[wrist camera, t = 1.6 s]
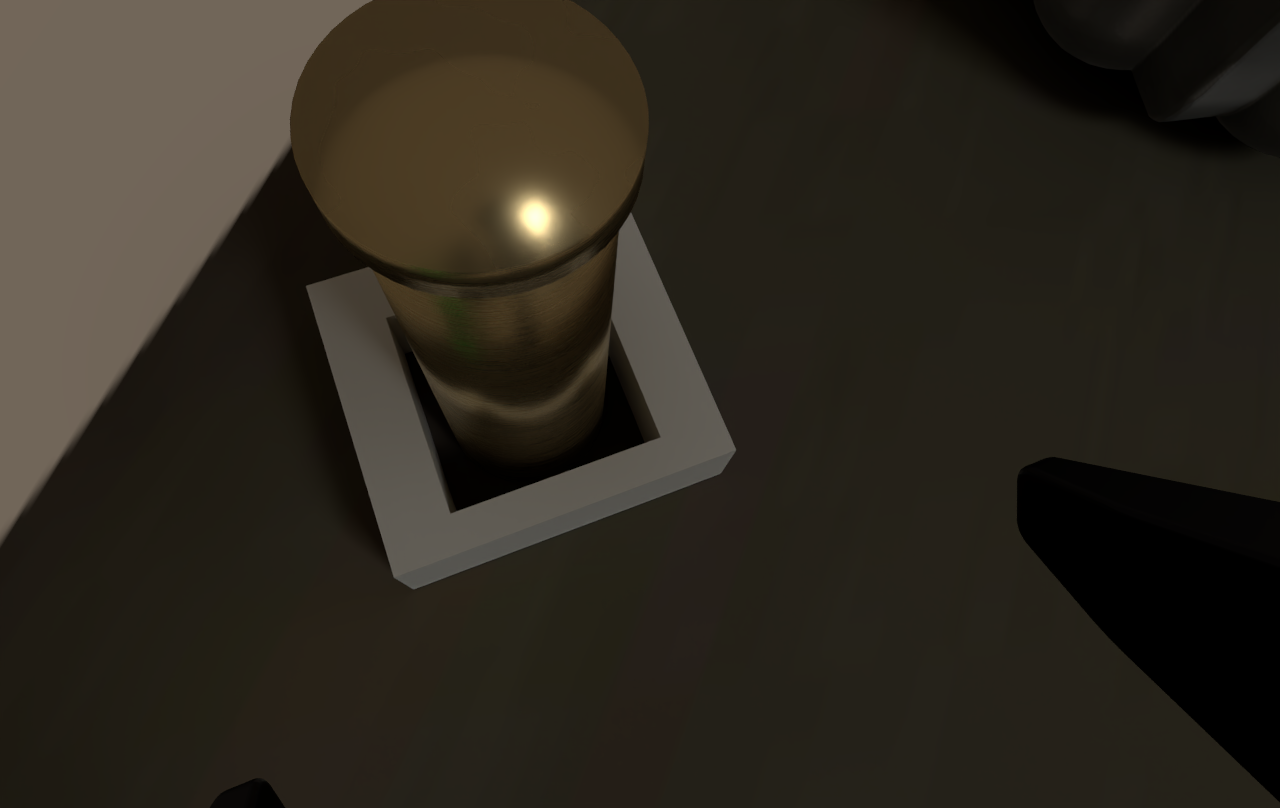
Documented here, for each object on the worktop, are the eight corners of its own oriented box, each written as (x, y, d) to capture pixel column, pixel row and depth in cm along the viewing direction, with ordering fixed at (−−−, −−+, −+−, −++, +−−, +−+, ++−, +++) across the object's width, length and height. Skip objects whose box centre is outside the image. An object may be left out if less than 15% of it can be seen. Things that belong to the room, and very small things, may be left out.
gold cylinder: (635, 357, 25) (690, 32, 12) (581, 515, 23) (584, 318, 11) (476, 307, 25) (377, -62, 13) (412, 460, 23) (225, 205, 11)
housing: (720, 473, 24) (736, 450, 21) (414, 589, 22) (393, 577, 20) (617, 235, 26) (621, 190, 24) (332, 324, 24) (305, 285, 22)
